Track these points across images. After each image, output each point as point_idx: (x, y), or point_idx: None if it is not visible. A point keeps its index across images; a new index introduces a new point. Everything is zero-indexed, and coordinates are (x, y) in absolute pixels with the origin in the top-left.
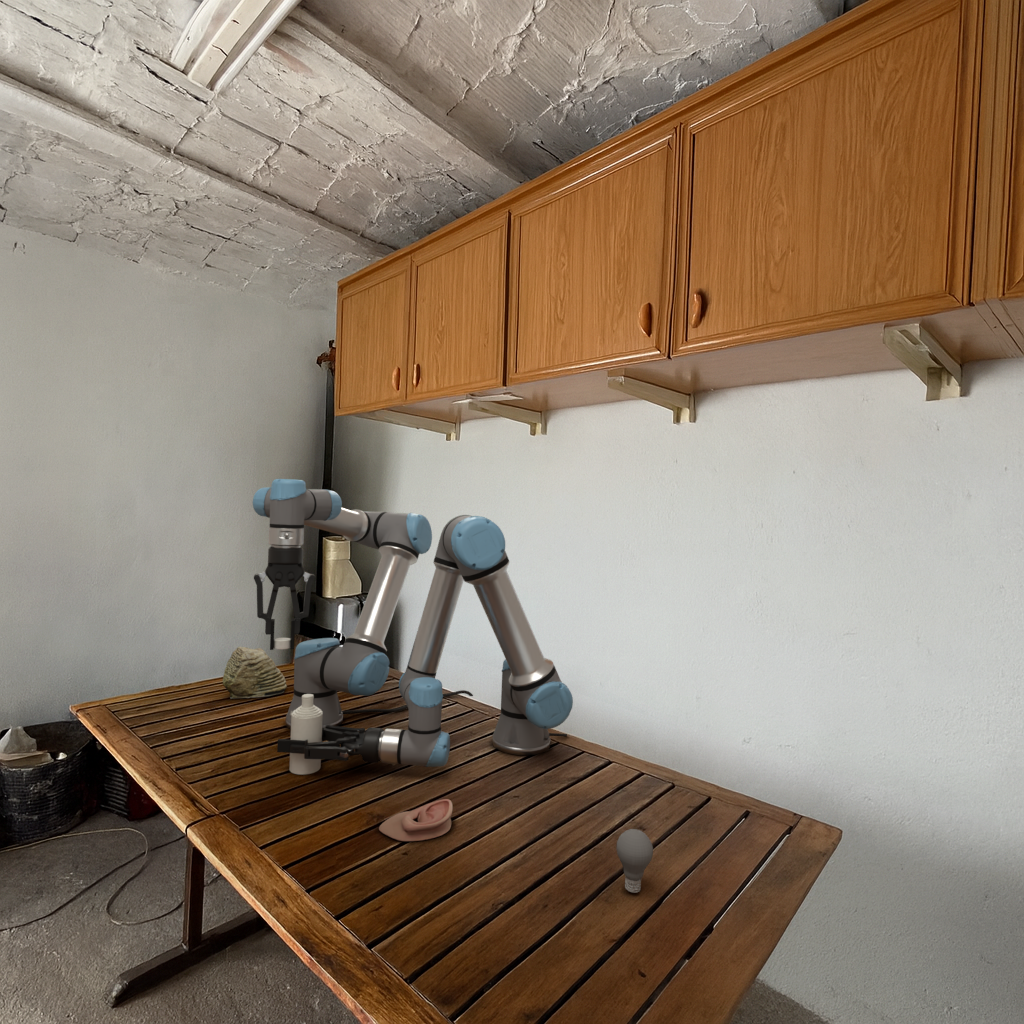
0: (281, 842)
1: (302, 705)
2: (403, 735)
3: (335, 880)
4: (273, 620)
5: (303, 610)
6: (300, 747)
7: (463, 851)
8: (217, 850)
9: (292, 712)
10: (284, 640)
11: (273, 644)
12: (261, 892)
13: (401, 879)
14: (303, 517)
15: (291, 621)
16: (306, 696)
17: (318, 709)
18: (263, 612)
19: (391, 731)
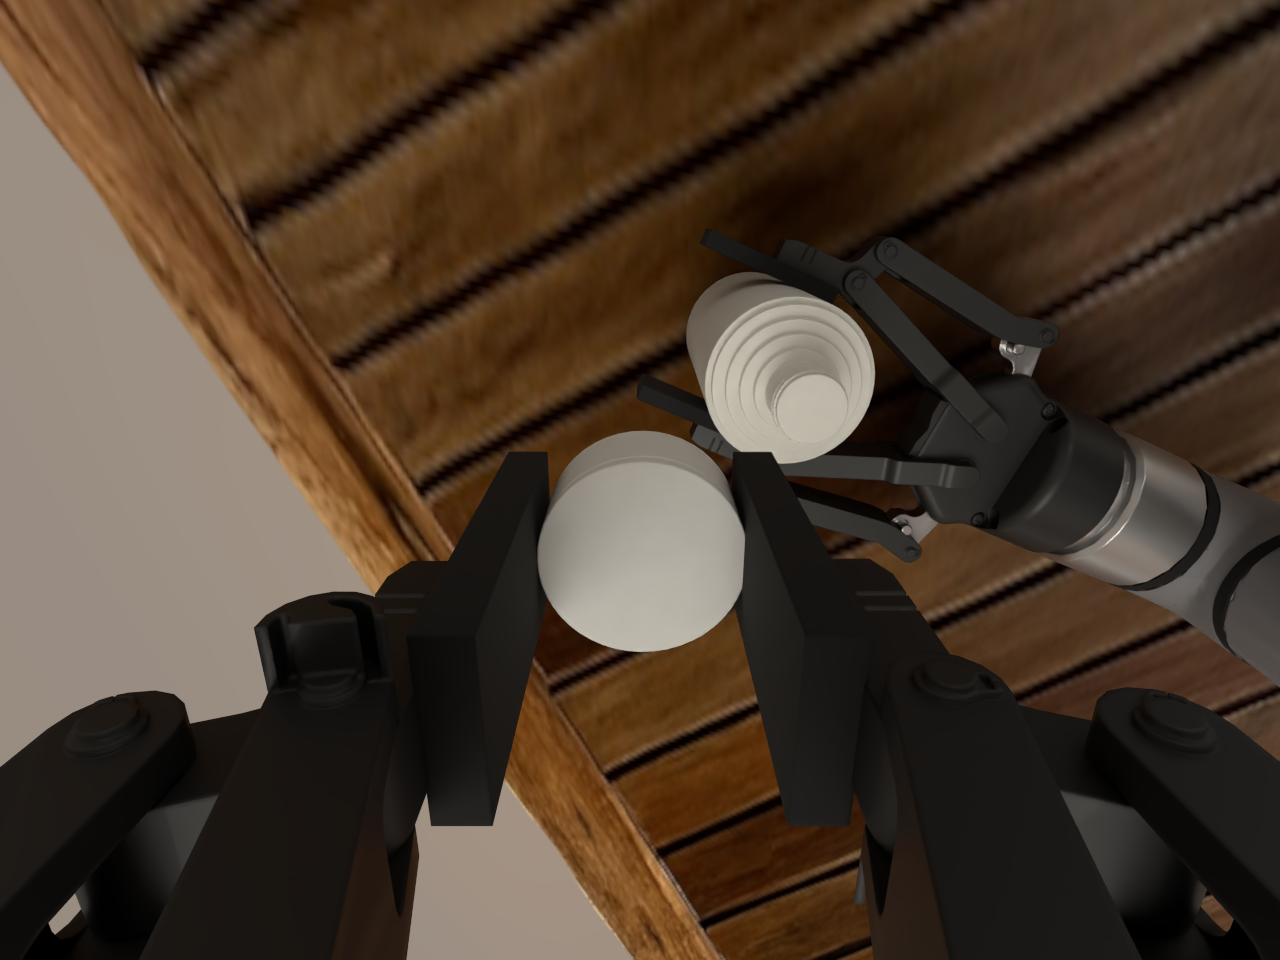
0: (654, 767)
1: (769, 409)
2: (1175, 582)
3: (758, 910)
4: (465, 764)
5: (1153, 818)
6: (732, 459)
7: None
8: (508, 765)
9: (711, 353)
10: (666, 625)
11: (544, 602)
12: (616, 910)
13: None
14: None
15: (786, 819)
16: (801, 428)
17: (855, 397)
18: (173, 838)
19: (1141, 548)
